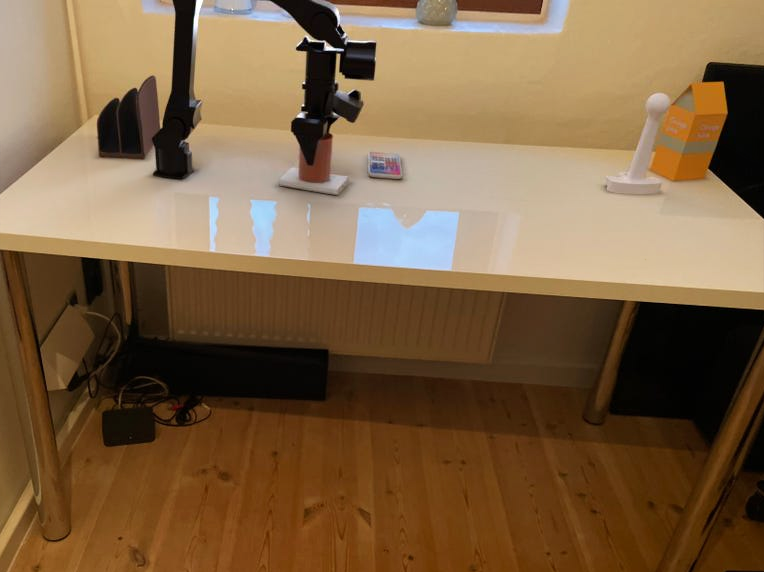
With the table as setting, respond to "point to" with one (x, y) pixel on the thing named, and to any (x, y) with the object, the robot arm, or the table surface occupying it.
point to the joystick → (642, 154)
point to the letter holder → (129, 123)
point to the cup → (317, 162)
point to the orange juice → (691, 132)
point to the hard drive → (328, 187)
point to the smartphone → (384, 165)
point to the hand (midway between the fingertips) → (315, 158)
